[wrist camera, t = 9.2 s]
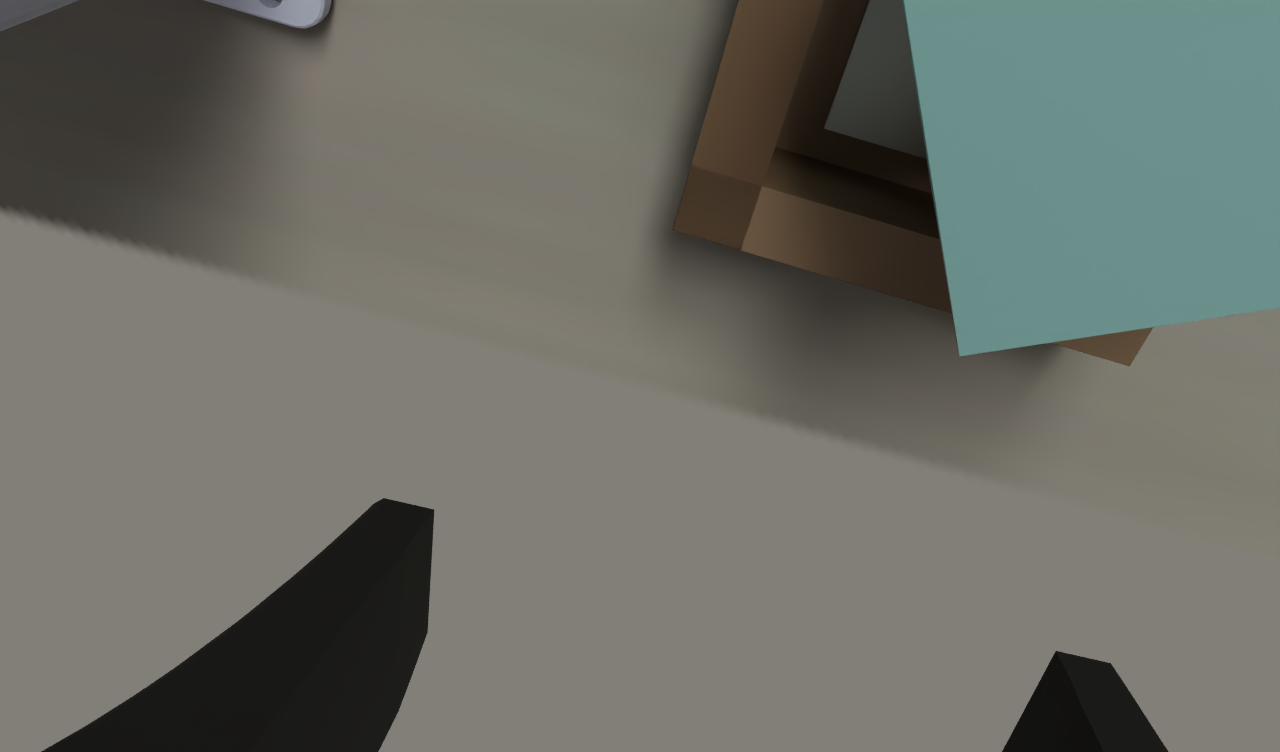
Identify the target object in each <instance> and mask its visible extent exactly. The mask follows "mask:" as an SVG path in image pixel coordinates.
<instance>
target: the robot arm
mask: <svg viewBox="0 0 1280 752" xmlns="http://www.w3.org/2000/svg"><path fill="white" fill-rule="evenodd" d="M77 1H79V0H0V32H1V31H4V30H6V29H9V28H11V27H14V26H16V25H19V24H21V23H24V22H26V21H29V20H31V19H34V18H36V17H39V16H41V15H44V14H46V13H49V12H51V11H54V10H56V9H59V8H61V7H64V6H66V5H69V4H71V3H74V2H77ZM204 1H207V2H211V3H214V4H218V5H221V6H224V7H228V8H231V9H234V10H238V11H241V12H244V13H248V14H251V15H254V16H258V17H261V18H265V19H268V20H271V21H275V22H278V23H281V24H285V25H288V26H291V27H295V28H304V29H306V28H309V27H312V26H314V25H316V24H318V23H319V22H321V21H322V20H323V19H324V18H325V17H326V16H327V15H328V13H329V9H330V6H331V0H282V2H277V1H275V0H204ZM433 522H434V510H433V509H429V508H425V507H420V506H416V505H411V504H407V503H402V502H398V501H394V500H389V499H385V498H383V499H382V500H380V501H378V502H376V503H374V504H373V505H372V506H371V507H370V508H369V509H368V510H367V511H366V512H365V513H364V514H362V515H361V516H360V517H359V518H358V519H357V520H356V521H355V522H354V523H353V524H352V525H351V526H349V527H348V528H347V529H346V530H345V531H344V532H343V533H342V534H341V535H340V536H339V537H337V538H336V539H335V540H334V541H333V542H332V543H331V544H330V545H329V546H327V547H326V548H325V549H324V550H323V551H322V552H321V553H320V554H318V555H317V556H316V557H315V558H314V559H313V560H311V561H310V562H309V563H308V564H307V565H306V566H305V567H303V569H301V570H300V571H299V572H298V573H296V574H295V575H294V576H293V577H292V578H291V579H290V580H288V581H287V582H286V583H284V584H283V585H282V586H281V587H279V588H278V589H277V590H276V591H275V592H273V593H272V594H271V595H270V596H269V597H267V598H266V599H265V600H264V601H262V602H261V603H260V604H259V605H258V606H256V607H255V608H254V609H253V610H251V611H250V612H249V613H248V614H247V615H245V616H244V617H243V618H241V619H240V620H239V621H238V622H236V623H235V624H234V625H232V626H231V627H230V628H228V629H227V630H226V631H224V632H223V633H221V634H220V635H219V636H217V637H216V638H215V639H213V640H212V641H211V642H209V643H208V644H207V645H205V646H204V647H203V648H201V649H200V650H199V651H197V652H196V653H194V654H193V655H192V656H190V657H189V658H188V659H186V660H185V661H184V662H182V663H181V664H180V665H178V666H177V667H175V668H174V669H173V670H171V671H170V672H168V673H167V674H165V675H164V676H162V677H161V678H159V679H158V680H156V681H155V682H154V683H152V684H151V685H149V686H148V687H147V688H145V689H143V690H142V691H140V692H139V693H137V694H136V695H134V696H133V697H131V698H130V699H128V700H126V701H125V702H123V703H122V704H120V705H118V706H117V707H115V708H114V709H112V710H111V711H109V712H107V713H106V714H104V715H103V716H101V717H100V718H98V719H97V720H95V721H93V722H91V723H90V724H88V725H87V726H85V727H83V728H82V729H80V730H78V731H76V732H75V733H73V734H71V735H69V736H68V737H66V738H64V739H63V740H61V741H59V742H57V743H56V744H54V745H52V746H51V747H49V748H47V749H45V750H44V751H42V752H378V751H379V749H380V747H381V745H382V743H383V741H384V739H385V737H386V735H387V733H388V731H389V729H390V727H391V725H392V723H393V721H394V719H395V717H396V715H397V713H398V711H399V708H400V705H401V703H402V700H403V698H404V695H405V692H406V690H407V687H408V684H409V682H410V679H411V676H412V674H413V671H414V668H415V665H416V663H417V660H418V657H419V654H420V651H421V649H422V645H423V643H424V640H425V638H426V635H427V631H428V630H427V629H428V613H429V594H430V576H431V559H432V558H431V557H432V540H433ZM1002 752H1168V750H1167V749H1166V747H1165V746H1164V745H1163V743H1162V741H1161V740H1160V738H1159V737H1158V735H1157V734H1156V732H1155V730H1154V729H1153V727H1152V726H1151V724H1150V723H1149V721H1148V720H1147V718H1146V716H1145V715H1144V713H1143V712H1142V710H1141V709H1140V707H1139V706H1138V704H1137V703H1136V701H1135V699H1134V698H1133V696H1132V695H1131V693H1130V692H1129V691H1128V689H1127V687H1126V686H1125V684H1124V683H1123V681H1122V680H1121V678H1120V677H1119V675H1118V674H1117V672H1116V671H1115V669H1114V668H1113V666H1112V665H1111V663H1107V662H1102V661H1098V660H1094V659H1089V658H1085V657H1080V656H1076V655H1071V654H1067V653H1063V652H1058V651H1056V652H1055V654H1054V656H1053V657H1052V659H1051V661H1050V663H1049V665H1048V667H1047V669H1046V671H1045V672H1044V674H1043V676H1042V678H1041V680H1040V682H1039V684H1038V686H1037V687H1036V689H1035V691H1034V693H1033V695H1032V697H1031V699H1030V701H1029V702H1028V704H1027V706H1026V708H1025V710H1024V712H1023V714H1022V715H1021V717H1020V719H1019V721H1018V723H1017V725H1016V727H1015V729H1014V730H1013V732H1012V734H1011V736H1010V738H1009V740H1008V742H1007V744H1006V745H1005V747H1004V749H1003V751H1002Z"/></svg>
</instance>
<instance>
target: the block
mask: <svg viewBox="0 0 1280 752" xmlns="http://www.w3.org/2000/svg"><path fill="white" fill-rule="evenodd" d="M902 7H903V13H904V19H905V26H906V32H907V38H908V45H909V51H910V57H911V64H912V70H913V76H914V83H915V89H916V95H917V102H918V108H919V114H920V121H921V127H922V133H923V140H924V146H925V152H926V159H927V165H928V171H929V178H930V184H931V190H932V196H933V202H934V207H935V213H936V219H937V225H938V231H939V237H940V243H941V249H942V255H943V261H944V267H945V273H946V279H947V285H948V291H949V296H950V302H951V308H952V314H953V320H954V326H955V332H956V338H957V344H958V350H959V356H966V355H972V354H979V353H986V352H992V351H999V350H1005V349H1012V348H1019V347H1025V346H1032V345H1038V344H1045V343H1052V342H1058V341H1065V340H1071V339H1078V338H1084V337H1091V336H1098V335H1104V334H1111V333H1117V332H1124V331H1131V330H1137V329H1144V328H1150V327H1157V326H1163V325H1170V324H1177V323H1183V322H1190V321H1196V320H1203V319H1210V318H1216V317H1223V316H1229V315H1236V314H1243V313H1249V312H1256V311H1262V310H1269V309H1275V308H1280V0H902Z"/></svg>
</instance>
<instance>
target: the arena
mask: <svg viewBox="0 0 1280 752" xmlns="http://www.w3.org/2000/svg"><path fill="white" fill-rule="evenodd" d="M672 230H674V231H677V232H681V233H684V234H687V235H691V236H694V237H698V238H701V239H704V240H708V241H711V242H714V243H718V244H721V245H724V246H728V247H731V248H734V249H738V250H741V251H744V252H748V253H751V254H755V255H758V256H761V257H765V258H768V259H771V260H775V261H778V262H781V263H785V264H788V265H791V266H795V267H798V268H801V269H805V270H808V271H812V272H815V273H818V274H822V275H825V276H828V277H832V278H835V279H838V280H842V281H845V282H848V283H852V284H855V285H858V286H862V287H865V288H869V289H872V290H875V291H879V292H882V293H885V294H889V295H892V296H895V297H899V298H902V299H905V300H909V301H912V302H915V303H919V304H922V305H926V306H929V307H932V308H936V309H939V310H942V311H946V312H949V313H952V308H951V302H950V296H949V291H948V285H947V279H946V273H945V267H944V261H943V255H942V249H941V243H940V237H939V231H938V225H937V219H936V213H935V207H934V202H933V196H932V190H931V184H930V178H929V171H928V165H927V159H926V152H925V146H924V140H923V133H922V127H921V121H920V114H919V108H918V102H917V95H916V89H915V83H914V76H913V70H912V64H911V57H910V51H909V45H908V38H907V32H906V26H905V19H904V13H903V7H902V0H739V1H738V5H737V8H736V12H735V15H734V19H733V22H732V25H731V29H730V32H729V36H728V39H727V43H726V46H725V50H724V53H723V57H722V60H721V63H720V67H719V70H718V74H717V77H716V81H715V84H714V88H713V91H712V95H711V98H710V101H709V105H708V108H707V112H706V115H705V119H704V122H703V126H702V129H701V133H700V136H699V139H698V143H697V146H696V150H695V153H694V157H693V160H692V164H691V167H690V171H689V174H688V178H687V181H686V184H685V188H684V191H683V195H682V198H681V202H680V205H679V209H678V212H677V216H676V219H675V222H674V226H673V229H672ZM1152 328H1153V327H1150V328H1144V329H1137V330H1131V331H1124V332H1117V333H1111V334H1104V335H1098V336H1091V337H1084V338H1078V339H1071V340H1065V341H1058V342H1052V343H1053V344H1056V345H1060V346H1063V347H1066V348H1070V349H1073V350H1076V351H1080V352H1083V353H1087V354H1090V355H1093V356H1097V357H1100V358H1103V359H1107V360H1110V361H1113V362H1117V363H1120V364H1123V365H1127V366H1130V364H1131V363H1132V361H1133V360H1134V358H1135V356H1136V355H1137V353H1138V351H1139V350H1140V348H1141V346H1142V345H1143V343H1144V342H1145V340H1146V338H1147V337H1148V335H1149V333H1150V332H1151V330H1152Z"/></svg>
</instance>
